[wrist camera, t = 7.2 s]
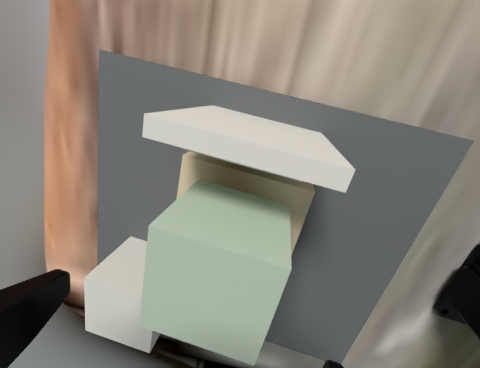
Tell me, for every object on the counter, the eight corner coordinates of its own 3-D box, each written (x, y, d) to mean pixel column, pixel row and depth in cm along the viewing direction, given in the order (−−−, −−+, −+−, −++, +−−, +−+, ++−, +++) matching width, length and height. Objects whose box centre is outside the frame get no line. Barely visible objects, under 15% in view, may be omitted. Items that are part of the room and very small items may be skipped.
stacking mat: (461, 138, 14) (699, 195, 6) (337, 354, 22) (368, 513, 13) (109, 52, 16) (-73, 7, 8) (105, 276, 24) (7, 372, 16)
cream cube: (186, 254, 20) (156, 301, 15) (179, 298, 22) (149, 353, 17) (130, 236, 20) (84, 277, 16) (127, 281, 22) (85, 330, 18)
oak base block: (308, 169, 16) (315, 191, 12) (278, 255, 18) (276, 295, 15) (206, 141, 16) (182, 155, 13) (191, 228, 19) (167, 260, 15)
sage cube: (289, 205, 12) (291, 269, 8) (265, 278, 14) (254, 366, 10) (198, 179, 13) (148, 225, 8) (185, 253, 15) (139, 325, 10)
